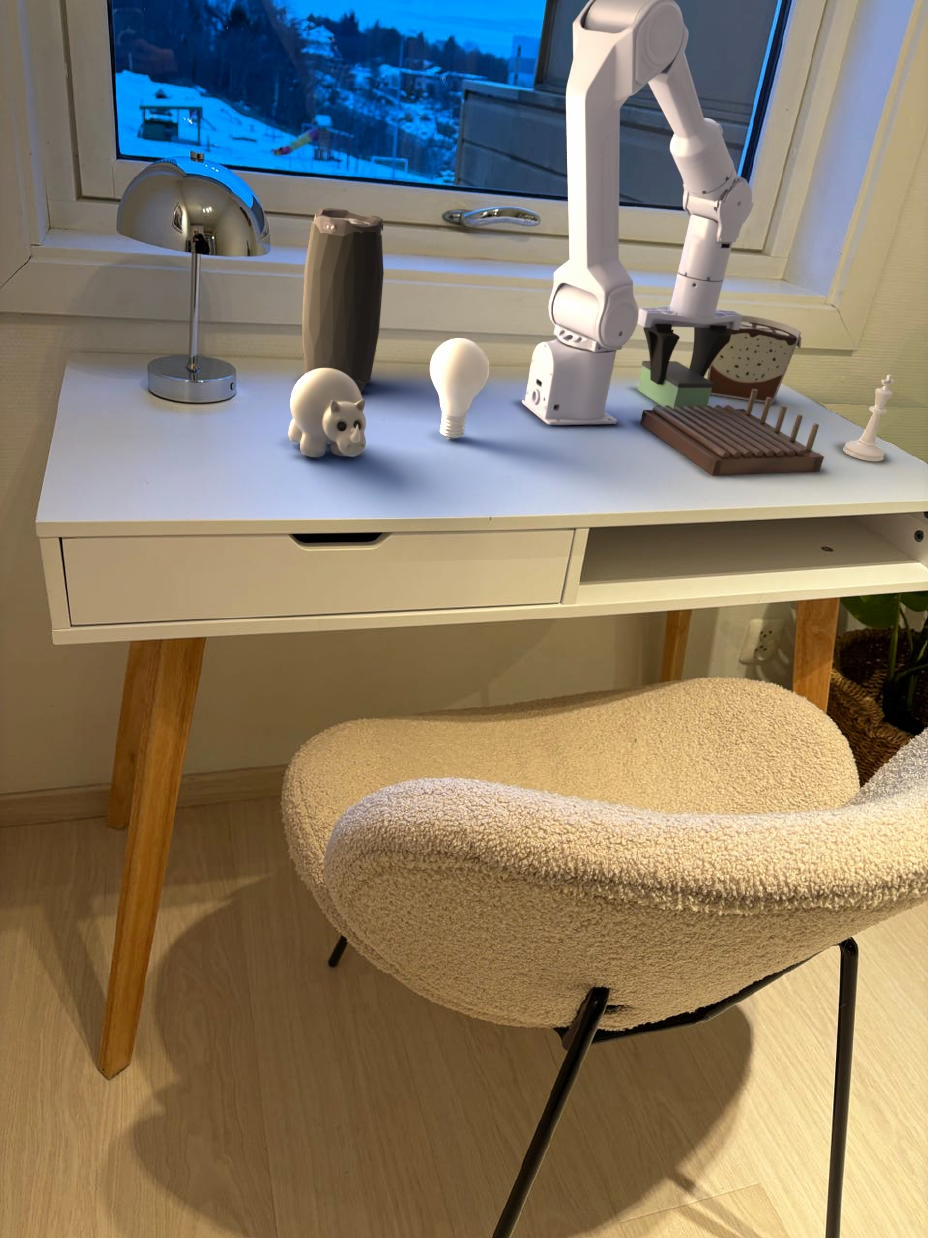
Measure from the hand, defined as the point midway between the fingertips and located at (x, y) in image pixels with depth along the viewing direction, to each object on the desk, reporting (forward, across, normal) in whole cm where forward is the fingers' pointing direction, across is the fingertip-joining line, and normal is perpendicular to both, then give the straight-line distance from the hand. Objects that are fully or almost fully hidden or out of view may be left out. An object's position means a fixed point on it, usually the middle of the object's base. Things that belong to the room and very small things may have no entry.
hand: (675, 382), depth 133 cm
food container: (+3, -13, -4) cm, 14 cm away
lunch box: (+3, 0, 0) cm, 3 cm away
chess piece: (+3, -16, +20) cm, 25 cm away
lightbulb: (+3, +36, +12) cm, 38 cm away
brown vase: (+3, +44, -6) cm, 45 cm away
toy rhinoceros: (+3, +51, +16) cm, 54 cm away
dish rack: (+3, +2, +16) cm, 16 cm away
